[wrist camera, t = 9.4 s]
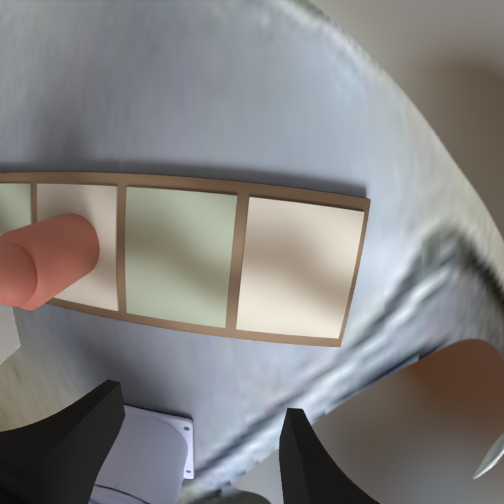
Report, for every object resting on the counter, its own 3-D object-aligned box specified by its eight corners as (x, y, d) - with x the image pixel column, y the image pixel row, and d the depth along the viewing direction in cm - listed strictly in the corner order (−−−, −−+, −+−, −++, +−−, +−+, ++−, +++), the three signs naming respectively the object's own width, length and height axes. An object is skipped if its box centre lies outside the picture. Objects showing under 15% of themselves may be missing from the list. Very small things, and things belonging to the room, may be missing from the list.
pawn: (101, 280, 20) (29, 336, 12) (51, 272, 20) (-24, 316, 12) (99, 215, 18) (15, 244, 11) (48, 211, 19) (-37, 236, 11)
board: (337, 341, 21) (340, 348, 20) (-8, 283, 21) (-15, 287, 20) (366, 198, 19) (371, 199, 18) (-15, 173, 19) (-23, 174, 18)
